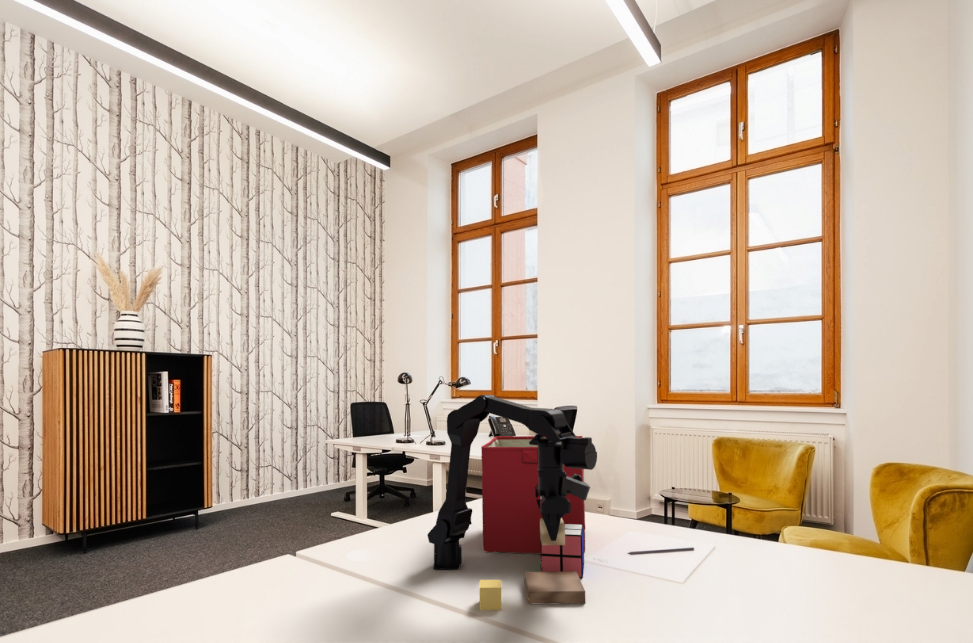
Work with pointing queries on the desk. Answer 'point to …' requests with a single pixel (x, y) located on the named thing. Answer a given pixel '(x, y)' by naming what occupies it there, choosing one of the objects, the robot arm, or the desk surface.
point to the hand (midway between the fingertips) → (552, 537)
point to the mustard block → (490, 595)
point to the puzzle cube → (565, 552)
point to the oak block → (546, 538)
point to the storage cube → (517, 496)
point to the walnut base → (554, 587)
